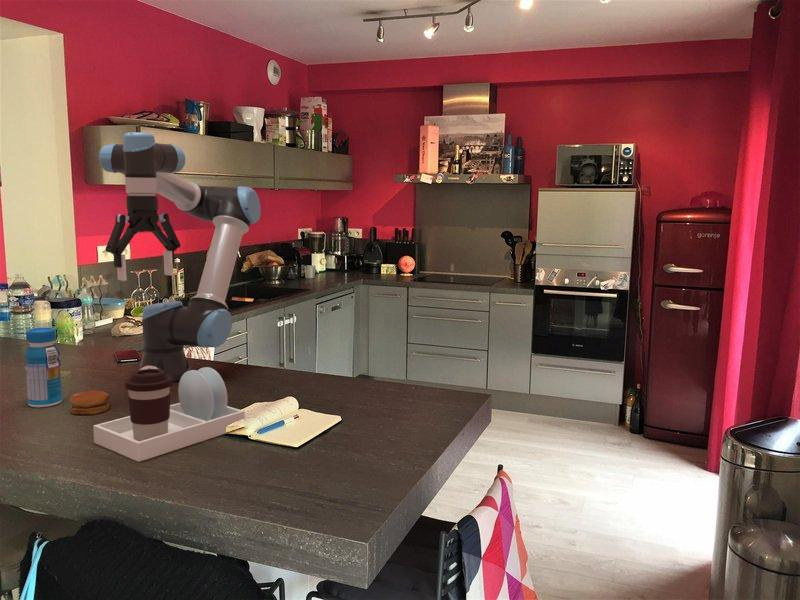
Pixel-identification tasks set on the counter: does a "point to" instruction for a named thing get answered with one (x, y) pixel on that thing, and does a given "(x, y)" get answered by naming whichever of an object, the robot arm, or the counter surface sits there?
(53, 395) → the beverage bottle
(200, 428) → the white tray
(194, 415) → the plates
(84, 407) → the burger
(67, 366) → the counter surface
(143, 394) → the coffee cup
